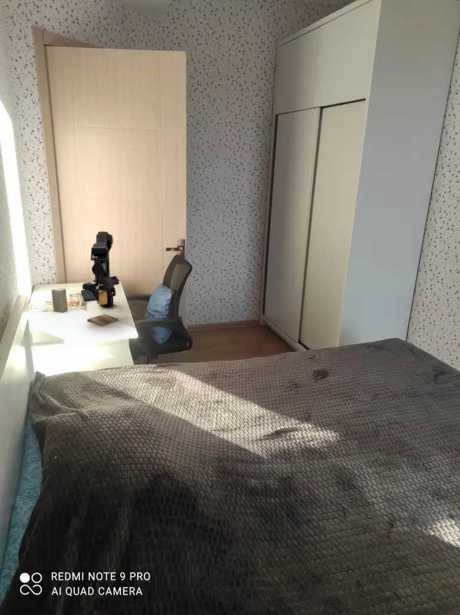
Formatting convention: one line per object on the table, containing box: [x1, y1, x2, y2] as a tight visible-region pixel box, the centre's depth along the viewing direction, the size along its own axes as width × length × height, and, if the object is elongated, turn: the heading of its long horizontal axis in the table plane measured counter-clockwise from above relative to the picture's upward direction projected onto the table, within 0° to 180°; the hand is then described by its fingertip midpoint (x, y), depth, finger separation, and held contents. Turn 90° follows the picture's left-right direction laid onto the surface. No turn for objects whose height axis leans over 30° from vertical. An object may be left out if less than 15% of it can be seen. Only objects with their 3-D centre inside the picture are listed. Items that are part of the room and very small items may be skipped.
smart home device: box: [80, 289, 97, 302], centre depth 274 cm, size 8×2×20 cm
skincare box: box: [51, 287, 68, 313], centre depth 245 cm, size 6×4×12 cm
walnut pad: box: [86, 313, 119, 327], centre depth 235 cm, size 11×11×1 cm
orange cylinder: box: [96, 290, 107, 305], centre depth 231 cm, size 5×5×6 cm
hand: (101, 300), depth 232 cm, fingers closed on orange cylinder, 5 cm apart
